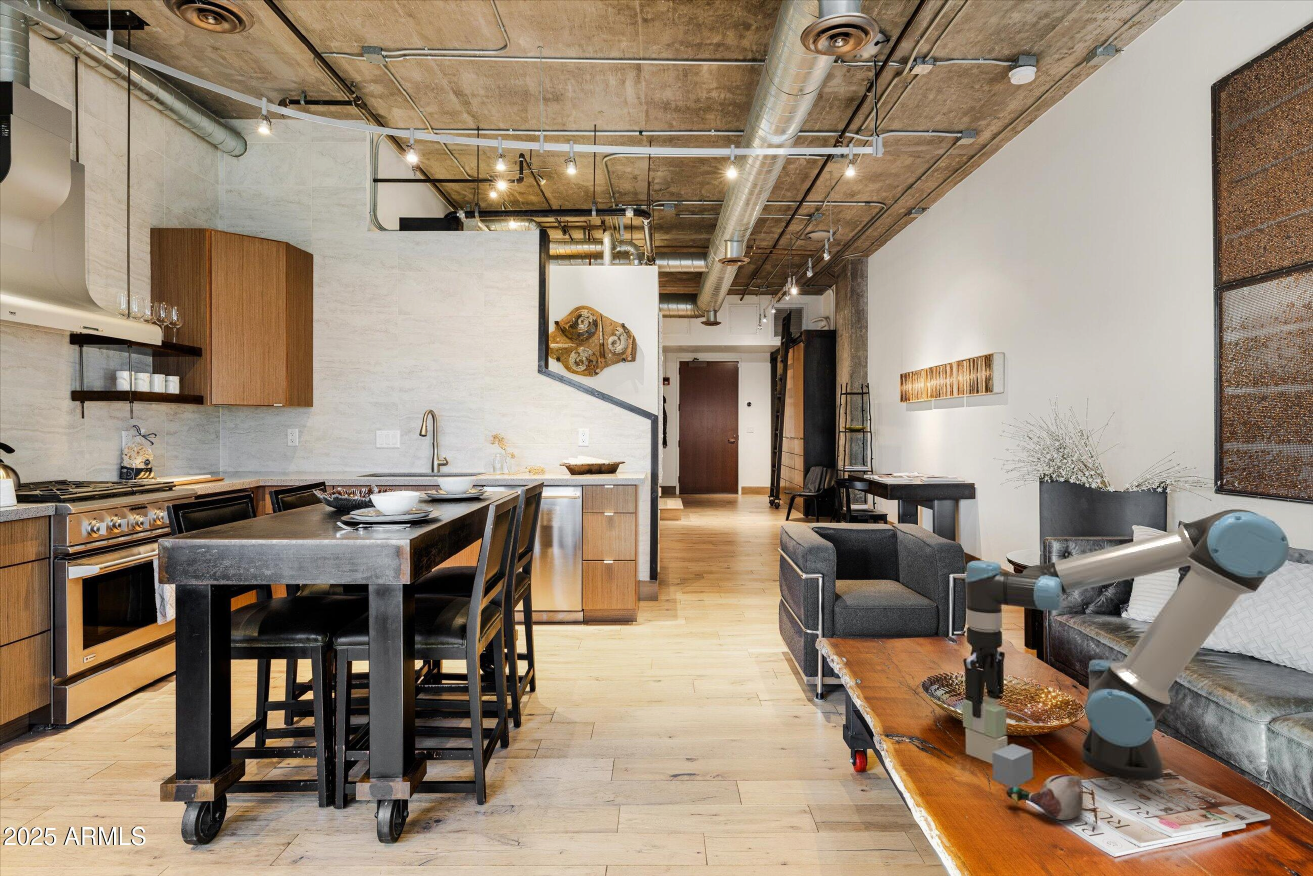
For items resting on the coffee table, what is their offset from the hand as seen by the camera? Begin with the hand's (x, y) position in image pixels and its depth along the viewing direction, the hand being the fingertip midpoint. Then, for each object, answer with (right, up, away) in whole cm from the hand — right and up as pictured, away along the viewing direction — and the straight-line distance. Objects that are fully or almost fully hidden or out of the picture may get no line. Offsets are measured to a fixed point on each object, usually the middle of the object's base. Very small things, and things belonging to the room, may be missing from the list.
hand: (985, 728), depth 156 cm
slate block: (+1, -7, -11) cm, 12 cm away
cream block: (0, -7, 0) cm, 7 cm away
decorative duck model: (+2, -6, -24) cm, 24 cm away
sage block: (0, 0, 0) cm, 1 cm away
